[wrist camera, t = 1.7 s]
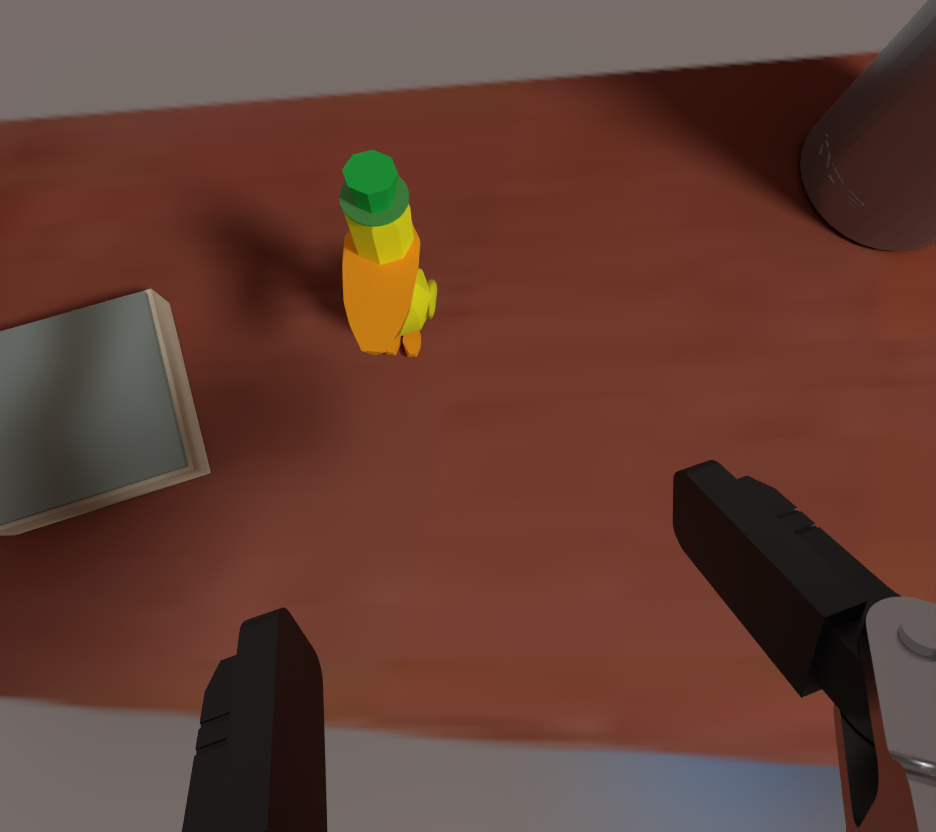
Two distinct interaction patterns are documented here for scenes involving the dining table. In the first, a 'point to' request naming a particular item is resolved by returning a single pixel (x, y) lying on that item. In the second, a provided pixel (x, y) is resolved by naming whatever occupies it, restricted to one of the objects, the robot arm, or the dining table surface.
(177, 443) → the stand
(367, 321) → the toy figure
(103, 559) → the dining table surface
